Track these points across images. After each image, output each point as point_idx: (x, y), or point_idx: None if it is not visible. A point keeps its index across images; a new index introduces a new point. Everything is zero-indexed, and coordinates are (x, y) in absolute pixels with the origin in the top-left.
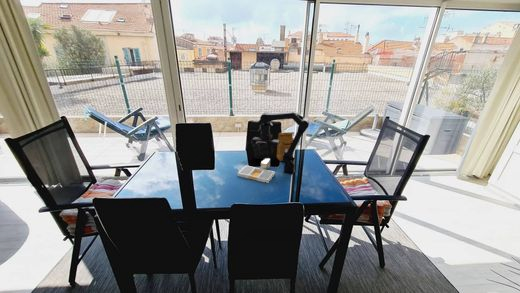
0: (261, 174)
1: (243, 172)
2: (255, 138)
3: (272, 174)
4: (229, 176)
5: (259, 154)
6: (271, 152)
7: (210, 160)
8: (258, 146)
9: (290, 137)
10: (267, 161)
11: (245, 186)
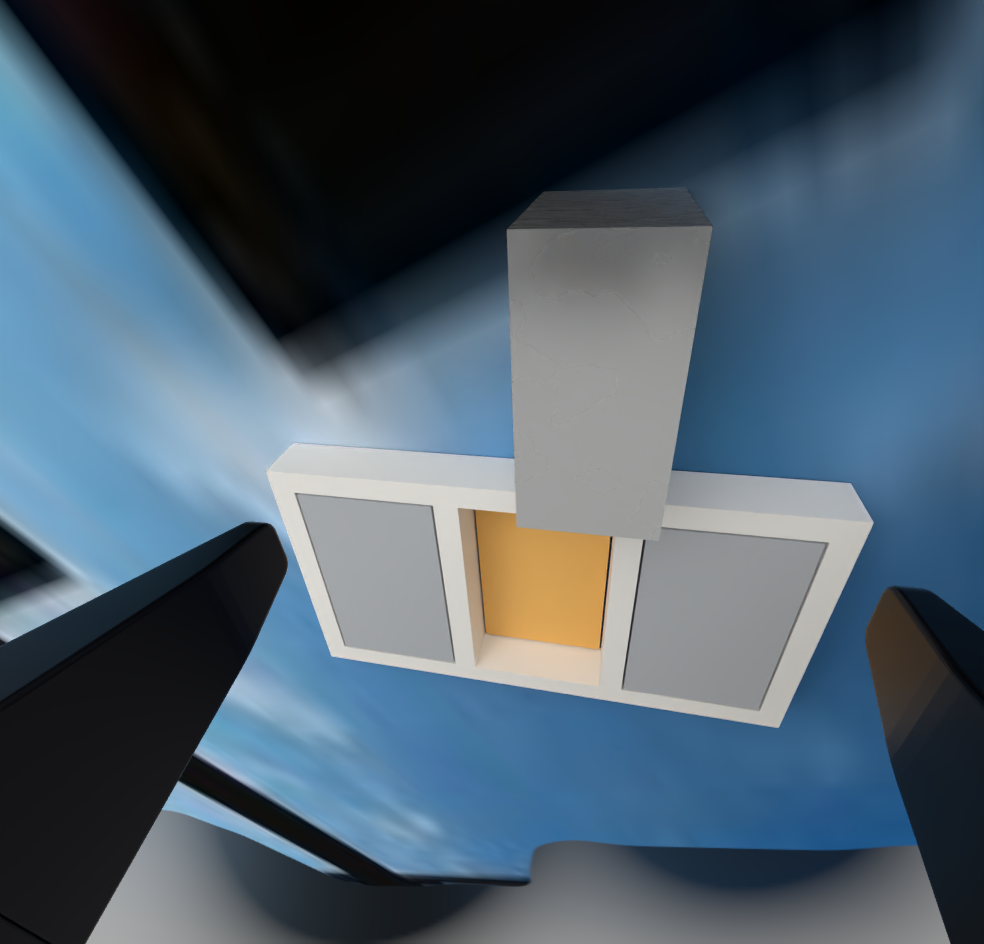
0: (634, 638)
1: (383, 639)
2: None
3: (827, 610)
4: (293, 646)
5: None
6: (932, 783)
7: None
8: (44, 858)
9: None
10: (654, 420)
11: (534, 743)
